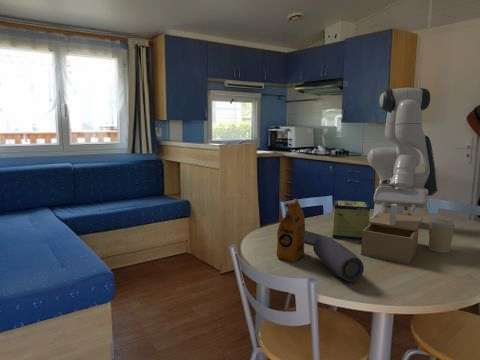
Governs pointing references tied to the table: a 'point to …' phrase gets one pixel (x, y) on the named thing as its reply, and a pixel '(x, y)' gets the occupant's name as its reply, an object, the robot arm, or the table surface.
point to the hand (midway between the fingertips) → (397, 213)
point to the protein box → (350, 219)
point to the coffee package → (291, 233)
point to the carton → (389, 243)
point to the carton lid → (396, 220)
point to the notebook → (311, 238)
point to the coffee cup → (440, 235)
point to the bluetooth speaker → (338, 259)
